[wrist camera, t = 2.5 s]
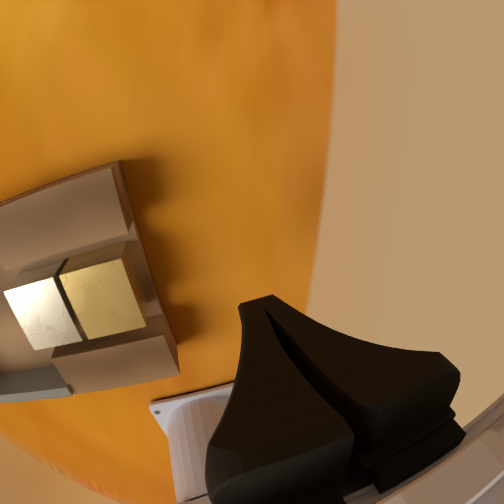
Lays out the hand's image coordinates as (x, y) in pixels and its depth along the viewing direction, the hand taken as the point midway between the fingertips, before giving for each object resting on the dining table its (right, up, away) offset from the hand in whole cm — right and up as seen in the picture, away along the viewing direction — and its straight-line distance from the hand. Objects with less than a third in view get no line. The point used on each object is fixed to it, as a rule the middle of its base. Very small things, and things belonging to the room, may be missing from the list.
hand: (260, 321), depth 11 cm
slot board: (-14, 0, +5) cm, 15 cm away
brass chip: (-8, +1, +5) cm, 10 cm away
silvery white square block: (-12, 0, +5) cm, 13 cm away
